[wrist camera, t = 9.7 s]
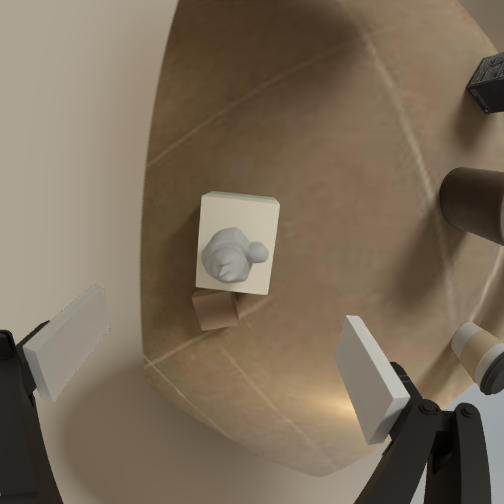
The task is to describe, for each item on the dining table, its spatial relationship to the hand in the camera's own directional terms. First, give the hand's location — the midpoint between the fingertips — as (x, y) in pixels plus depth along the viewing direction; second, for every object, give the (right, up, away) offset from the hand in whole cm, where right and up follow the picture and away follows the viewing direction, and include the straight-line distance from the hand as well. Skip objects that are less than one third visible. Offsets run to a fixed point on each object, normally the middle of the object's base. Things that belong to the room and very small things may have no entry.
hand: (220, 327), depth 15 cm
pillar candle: (+35, +12, +22) cm, 43 cm away
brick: (-3, -3, +27) cm, 27 cm away
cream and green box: (0, +7, +24) cm, 25 cm away
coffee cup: (+43, -13, +29) cm, 53 cm away
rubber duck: (0, +4, +16) cm, 17 cm away
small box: (+42, +33, +17) cm, 56 cm away
